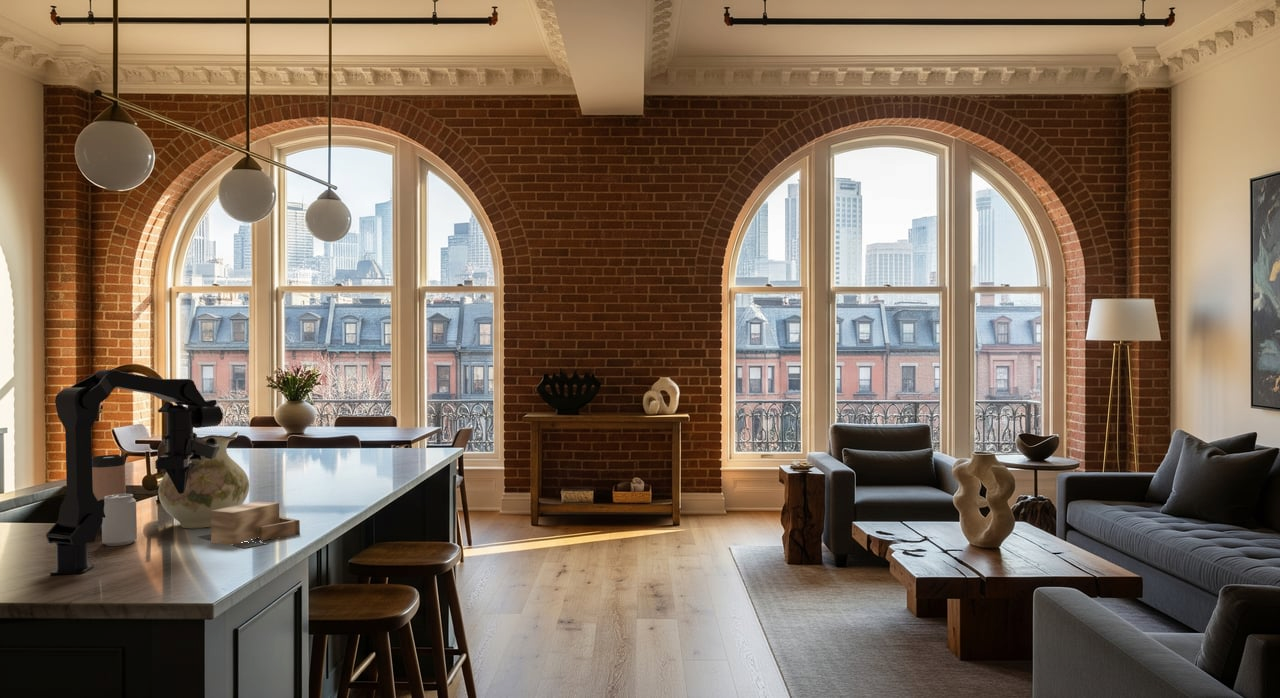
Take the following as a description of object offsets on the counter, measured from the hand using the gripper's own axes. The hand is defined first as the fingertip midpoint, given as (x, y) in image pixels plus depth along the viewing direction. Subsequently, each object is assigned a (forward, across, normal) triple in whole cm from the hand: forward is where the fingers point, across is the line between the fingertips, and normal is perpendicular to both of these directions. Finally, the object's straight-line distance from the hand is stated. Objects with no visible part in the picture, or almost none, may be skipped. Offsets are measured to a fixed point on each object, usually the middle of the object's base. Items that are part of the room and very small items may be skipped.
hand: (181, 493), depth 216 cm
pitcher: (+13, +26, +2) cm, 29 cm away
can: (+13, +6, +16) cm, 21 cm away
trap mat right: (+12, -6, -17) cm, 22 cm away
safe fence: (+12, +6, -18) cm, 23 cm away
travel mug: (+13, +23, +24) cm, 36 cm away
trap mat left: (+12, +7, -6) cm, 16 cm away
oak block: (+13, +3, -14) cm, 19 cm away
